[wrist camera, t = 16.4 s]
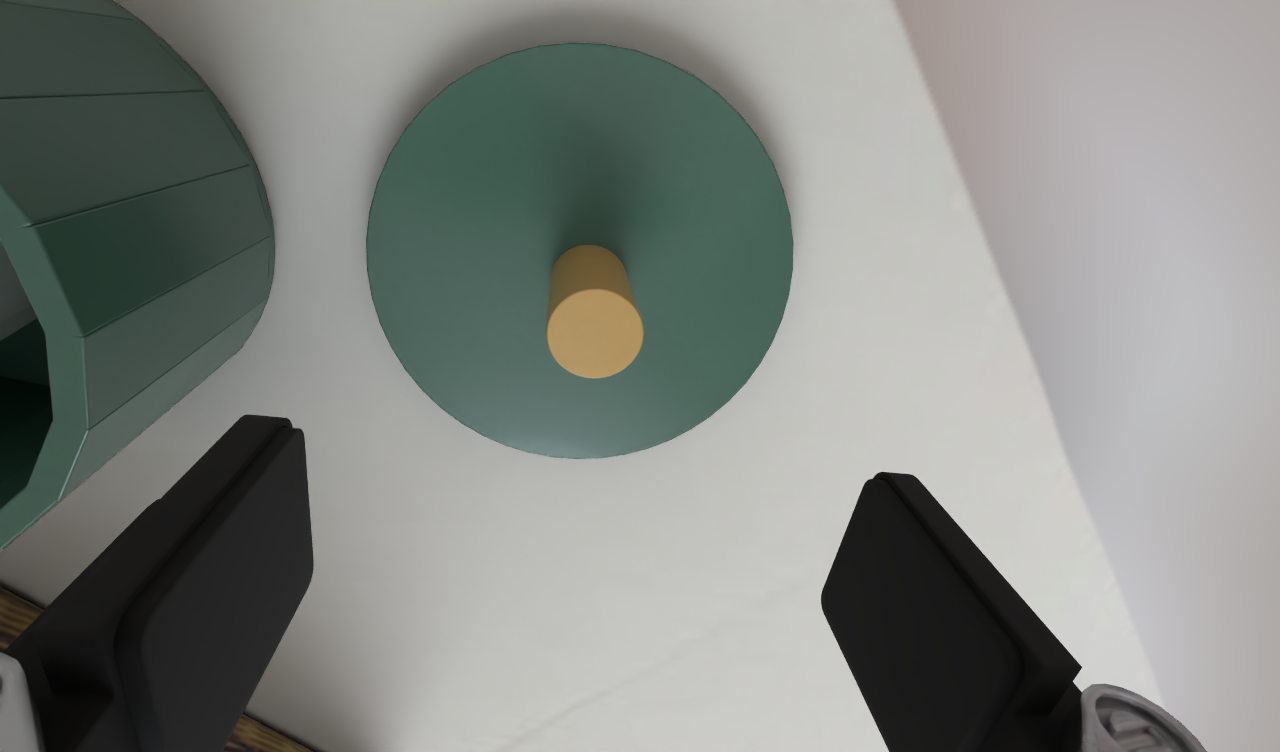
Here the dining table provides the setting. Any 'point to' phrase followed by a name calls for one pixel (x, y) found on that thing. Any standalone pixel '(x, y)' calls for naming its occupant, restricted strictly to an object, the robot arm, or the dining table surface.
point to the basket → (251, 742)
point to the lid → (579, 250)
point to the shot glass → (12, 299)
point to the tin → (113, 241)
